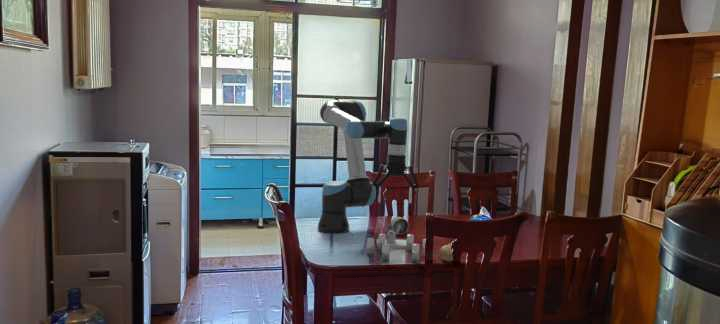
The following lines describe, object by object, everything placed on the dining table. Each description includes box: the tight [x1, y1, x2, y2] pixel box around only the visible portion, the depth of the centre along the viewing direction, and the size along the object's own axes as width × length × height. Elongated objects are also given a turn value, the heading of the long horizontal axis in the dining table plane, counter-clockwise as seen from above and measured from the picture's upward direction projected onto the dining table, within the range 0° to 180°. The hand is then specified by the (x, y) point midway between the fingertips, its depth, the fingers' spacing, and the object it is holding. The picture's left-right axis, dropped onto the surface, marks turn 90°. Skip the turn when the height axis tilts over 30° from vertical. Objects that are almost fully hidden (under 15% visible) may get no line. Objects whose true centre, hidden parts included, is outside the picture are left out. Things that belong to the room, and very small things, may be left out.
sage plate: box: [375, 238, 406, 250], centre depth 237 cm, size 14×10×1 cm
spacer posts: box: [365, 233, 427, 264], centre depth 221 cm, size 26×18×7 cm
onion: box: [438, 242, 452, 263], centre depth 217 cm, size 8×8×7 cm
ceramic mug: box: [384, 216, 410, 235], centre depth 260 cm, size 11×8×8 cm
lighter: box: [386, 224, 401, 244], centre depth 237 cm, size 7×2×8 cm, turn 127°
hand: (394, 202), depth 235 cm, fingers open, 13 cm apart
